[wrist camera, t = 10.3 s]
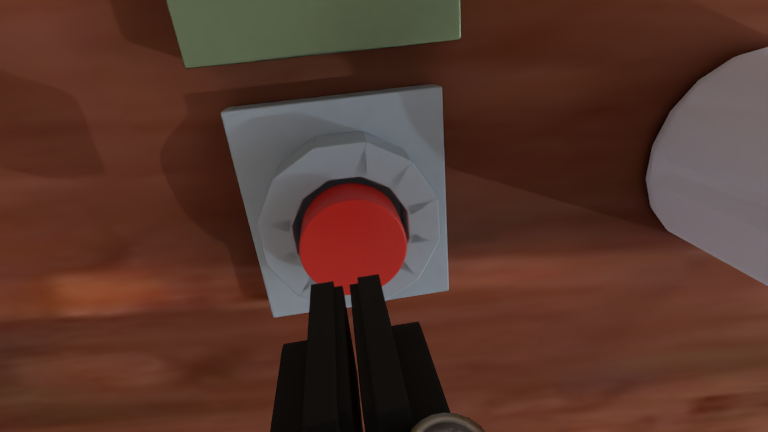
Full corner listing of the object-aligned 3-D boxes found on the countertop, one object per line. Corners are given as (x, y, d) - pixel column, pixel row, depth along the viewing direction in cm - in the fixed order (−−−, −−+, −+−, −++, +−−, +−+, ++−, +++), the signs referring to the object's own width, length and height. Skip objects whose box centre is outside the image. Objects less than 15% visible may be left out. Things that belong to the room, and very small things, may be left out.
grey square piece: (227, 106, 15) (204, 120, 12) (434, 83, 16) (457, 91, 13) (276, 302, 19) (267, 347, 16) (442, 277, 19) (461, 315, 17)
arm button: (293, 189, 14) (289, 207, 12) (395, 175, 14) (403, 192, 13) (311, 276, 15) (308, 303, 14) (402, 262, 16) (411, 287, 14)
